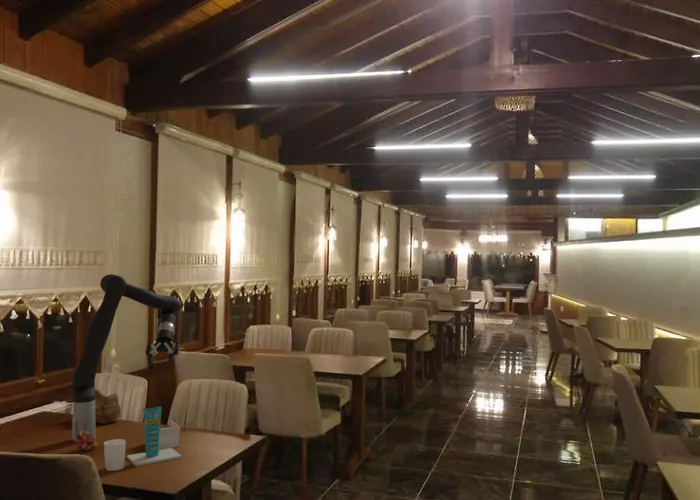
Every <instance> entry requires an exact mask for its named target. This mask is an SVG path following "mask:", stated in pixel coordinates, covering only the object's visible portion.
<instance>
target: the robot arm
mask: <svg viewBox="0 0 700 500" xmlns="http://www.w3.org/2000/svg"><path fill="white" fill-rule="evenodd" d="M99 285H100V288H101V290H102V291H103V292H104V295H103V298H102V301H101V304H100V306H99V307H98V309H97V310H96V312H95V313H94V315H93V316H92V318H91V320H90V322H89V326H88V328H87V331H86V335H85V339H84V340H85V341H84V346H83V352H82V355H81V358H80V360H79V363H78V365H76V367H75V368H74V369H73V372H72V413H73V414H72V418H71V420H72V421H71V428H72V429H71V432H72V437H71V438H72V441H73V442H74V443H77V439H76V436H77V434H78V433H79V431H87V432H89V433H90V434H91V435H93V436H94V437H96V435H97V434H96V433H97V432H96V422H95V389H96V383H95V382H96V381H95V380H96V375H97V370H98V365H99V362H100V358H101V355H102V353H103V351H104V349H105V346H106V345H107V340H108V338H109V335H110V332H111V329H112V325H113V323H114V319H115V316H116V313H117V309H118V308H119V304H120V302H121V300H122V297H125V298H128V299H129V300H133V301H134V302H137V303H140V304H142V305H144V306H146V307H149V308H152V309H155V310H158V309H160V318H161V319H160V324H159V327H158V329H157V333H156V334H157V335H156V338H155V342H154V343H152V342H147V346H146V350H145V355H146V356H148V358H147V359H148V360H147V361H148V362H149V363H150V364H152V363H153V359H154V356H155V355H157V354H158V353H168V354H169V355H168V363H169V364H171V363H172V362H173V360H174V356H178V355H179V350H180V349H179V348H180V345H179V341H176V342H173V340H174V337H175V330H176V324H177V317H176V315H175V314H176V313H178V312H179V311H180V310H181V309H182V302H181V300H180V299H179V298H177V297H174V296H170V295H164V294H162V295H161V294H158V293H155V292H153V291H150V290H147V289H144V288H142V287H138V286H135V285H133V284H130V283H128V282H127V281H126V280H125V278H124V277H123V276H121V275H118V274H113V273H111V274H106V275H104V276H103V277H102V278H101V280H100V284H99ZM172 348H174V350H172ZM96 438H97V437H96Z"/></svg>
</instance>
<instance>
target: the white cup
mask: <svg viewBox="0 0 700 500" xmlns="http://www.w3.org/2000/svg"><path fill="white" fill-rule="evenodd" d="M126 444H127V440H126V439H122V438H121V439H119V438H118V439H117V438H116V439H110V440H106V441H105V442H103V451H104V452H103V453H104V456H103V457H104V464H105V466H104V467H105V470H106V471H109V472H113V471H120V470H123V469H124V468H125V462H126V461H125V460H126V448H127V447H126Z"/></svg>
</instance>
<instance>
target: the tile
mask: <svg viewBox="0 0 700 500" xmlns="http://www.w3.org/2000/svg"><path fill="white" fill-rule="evenodd" d="M126 458H127V460H128V461H129V462H130V463H131V464H132V465H134V467H139V466H140V467H141V466H145V465H151V464H155V463H161V462H167V460H168V461H173V460H178V459H182V455H181V453H179V452H177V451H176V449H174V448H167V449H161V450H159V455H158V456H155V457H147V456H146V451H145V452H140V453H139V452H138V453H133V454H128V455H127V454H126Z"/></svg>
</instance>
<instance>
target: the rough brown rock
mask: <svg viewBox="0 0 700 500" xmlns="http://www.w3.org/2000/svg"><path fill="white" fill-rule="evenodd" d="M121 415H122V407H121V405H120V401H119V395H118V394H117V393H111V394H109V395H108V396H107V395H105V394H104V393H102V391H100V389H97V388H95V423H97V424H101V425H108V423H113V422H116V421H117V420H119V418H120V417H121Z"/></svg>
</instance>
